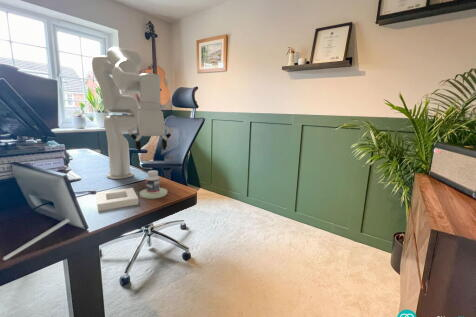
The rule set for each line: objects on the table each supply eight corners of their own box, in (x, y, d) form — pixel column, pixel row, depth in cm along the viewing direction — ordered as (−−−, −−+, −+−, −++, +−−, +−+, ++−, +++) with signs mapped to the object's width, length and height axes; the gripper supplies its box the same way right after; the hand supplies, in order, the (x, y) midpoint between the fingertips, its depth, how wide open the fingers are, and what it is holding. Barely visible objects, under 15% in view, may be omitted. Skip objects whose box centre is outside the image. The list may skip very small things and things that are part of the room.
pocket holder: (96, 198, 90) (96, 192, 89) (132, 193, 97) (132, 187, 96) (98, 211, 79) (97, 204, 79) (138, 204, 86) (138, 198, 86)
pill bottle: (143, 192, 96) (142, 171, 94) (154, 188, 100) (153, 169, 99) (152, 194, 93) (151, 173, 92) (162, 191, 98) (161, 171, 96)
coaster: (137, 192, 99) (137, 189, 98) (163, 188, 104) (163, 186, 104) (142, 200, 90) (142, 198, 89) (170, 196, 95) (170, 193, 95)
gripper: (169, 107, 98) (170, 147, 101) (124, 105, 88) (127, 149, 92) (175, 108, 91) (175, 150, 95) (127, 106, 82) (129, 152, 86)
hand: (151, 150), depth 94 cm, fingers open, 9 cm apart
